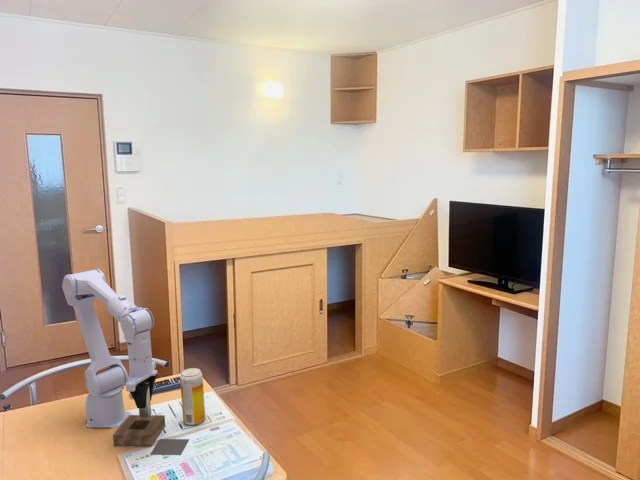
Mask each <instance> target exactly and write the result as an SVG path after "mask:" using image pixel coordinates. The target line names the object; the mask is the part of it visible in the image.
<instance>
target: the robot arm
mask: <svg viewBox="0 0 640 480" xmlns="http://www.w3.org/2000/svg"><path fill="white" fill-rule="evenodd" d="M61 286H62V287H61V288H62V292H63V293H64V294H63V295H64V297H65V301H66V302H67V305H68V306H71V307H73V309H74V314H75V316H76V319H77V322H78V325H79V327H80V331H81V333H82V337H83V340H84V343H85V346H86V350H87V352H88V355H89V357H90V360H91V362H90V363H89V365H88V367H87V368H86V370H85V371H84V377H85V386H86V389H87V391H88V395H87V397H86V400H85V411H86V412H85V413H86V420H87V424H86V425H85V426H86V428H95V429H96V428H100V429H103V428H106V429H107V428H109V429H110V428H111V429H112V428H116V429H118V428H119V427H120V426H121V425H122V423H123V422H124V421H125V420H126V419H127V418H128V416H129V415H131V411H125V406H124V397H123V395H124V394H123V390H125V391H126V392H129V393H130V395H131V396H132V398H133V401H134V404H135V406H136V408H137V409H139V408H145V407H146V402H147V391H148V387H149V391H150V402H151V401H152V396H153V390H154V385H155V383H156V380H157V378H158V370H157V369H155V368H157V362H156V360H155V359H154V360H153V354H152V341H151V330H152V329H153V328H154V325H155V319H154V316H153V313H152V311H150V310H149V308H147V307H138V306H137V305H136V304H135V303H134V302H132V301H131V300H130V299H129V298H128V297H127V296H125V295H124V294H119V295H118V294H117V293H116V291H114V289H113V288H112V287H111V286H110V285H109V284H108V283H107V279H106V276H105V273H104V272H103V271H102V270H101V269H99V268H94V269H91V270H86V271H81V272H75V273H73V274H72V273H71V274H69V273H68V274H66V275H65V276H64V277H63V279H62V284H61ZM97 299H98V300H100V301H101V302H103V303H104V304H105V305H107V306H106V310H107V312H108V313H109V314H110V315H111V316H112V317H113V318H115V320H117V321H118V322H119V323H120V328H121V331H122V333H123V337H124V340H125V341H124V342H126V343H127V355H128V356H127V357H128V368H129V373H128V371H127V369H126V368H125V366H124V365H123V363H122V360H121V359H120V358H118V357H116V356H115V357H114V356H112V355H111V353H110V350H109V347H108V344H107V342H106V340H105V336H104V333H103V329H102V328H101V324H100V321H99V318H98V315H97V313H96V310H95V306H94V304H95V301H96V300H97ZM102 369H103V370H102ZM143 380H147V381H149V383H144V382H142V381H143Z"/></svg>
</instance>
